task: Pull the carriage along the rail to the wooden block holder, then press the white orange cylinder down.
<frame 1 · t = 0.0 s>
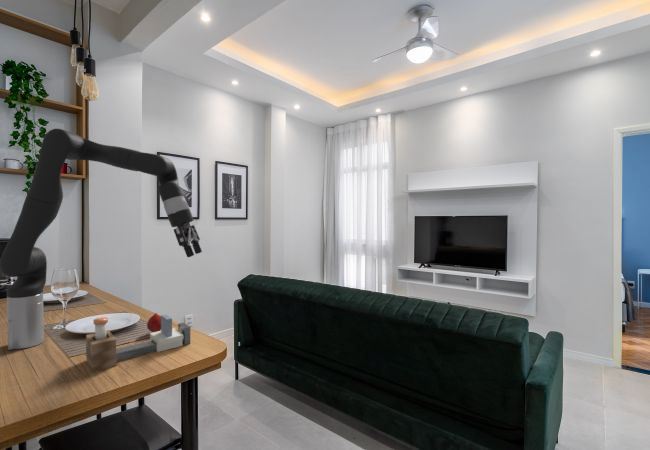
hand: (195, 254, 117), 31 cm above the table, tool tilted 20°, fingers open, 8 cm apart
white orange cylinder: (100, 332, 101), point 9 cm above the table, slide at 0.0 cm
onion: (155, 334, 126), on the table
wooden block holder: (101, 362, 102), on the table
rail: (149, 350, 111), on the table
carriage: (166, 331, 115), point 5 cm above the table, slide at 0.0 cm
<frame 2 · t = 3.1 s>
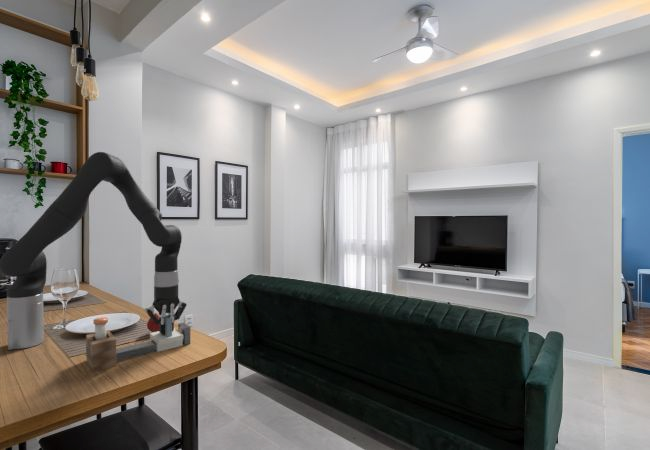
hand: (166, 333, 115), 5 cm above the table, tool pointing down, fingers closed on carriage
carriage: (166, 331, 115), point 5 cm above the table, slide at 0.0 cm, touching gripper
everything else where it was.
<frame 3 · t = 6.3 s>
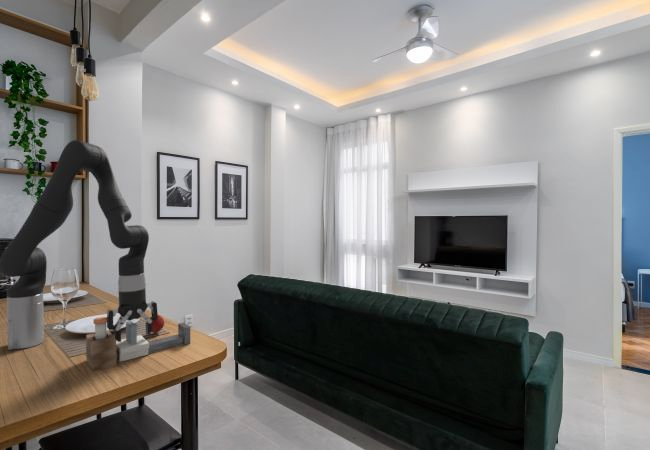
hand: (133, 337, 108), 6 cm above the table, tool pointing down, fingers open, 8 cm apart
carriage: (131, 339, 107), point 5 cm above the table, slide at 10.8 cm
everything else where it was.
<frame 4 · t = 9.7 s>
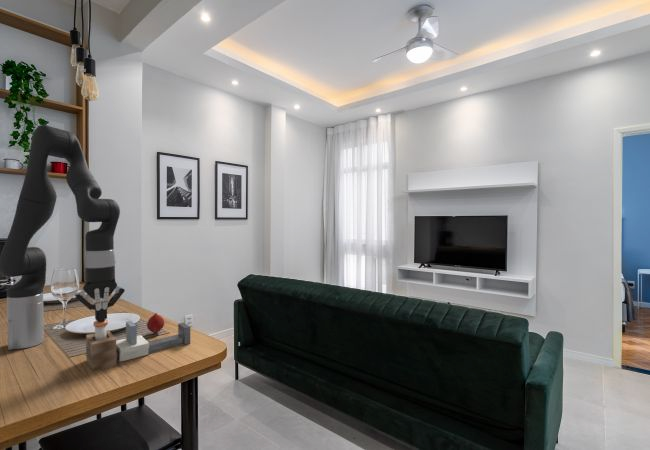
hand: (101, 321, 101), 13 cm above the table, tool pointing down, fingers closed
white orange cylinder: (100, 334, 101), point 9 cm above the table, slide at 0.7 cm, touching gripper
everything else where it was.
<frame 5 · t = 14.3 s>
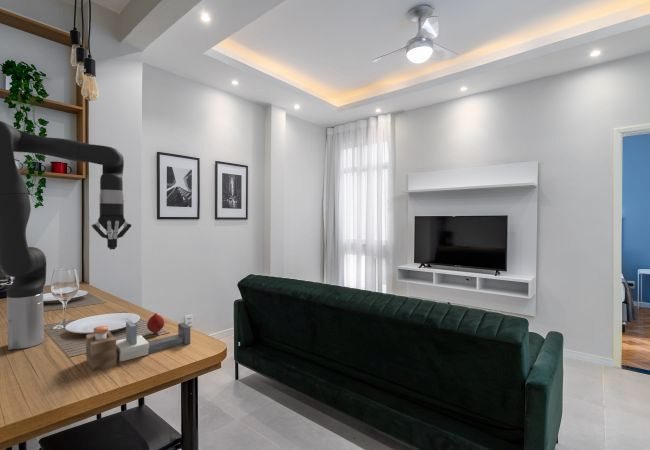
hand: (112, 249, 124), 32 cm above the table, tool pointing down, fingers closed
white orange cylinder: (100, 340, 101), point 7 cm above the table, slide at 2.6 cm
everything else where it was.
at the end: carriage slide at 10.8 cm; white orange cylinder slide at 2.6 cm; the gripper is holding nothing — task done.
